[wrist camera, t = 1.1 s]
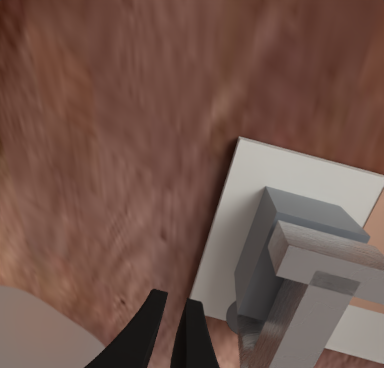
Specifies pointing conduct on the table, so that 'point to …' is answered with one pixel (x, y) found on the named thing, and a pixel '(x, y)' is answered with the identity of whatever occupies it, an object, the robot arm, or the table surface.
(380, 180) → the board
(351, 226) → the grey rectangular block
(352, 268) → the latch
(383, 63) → the table surface
